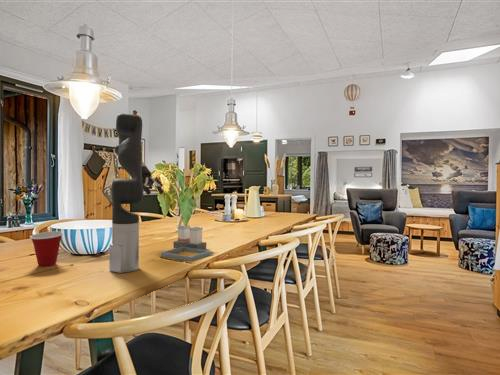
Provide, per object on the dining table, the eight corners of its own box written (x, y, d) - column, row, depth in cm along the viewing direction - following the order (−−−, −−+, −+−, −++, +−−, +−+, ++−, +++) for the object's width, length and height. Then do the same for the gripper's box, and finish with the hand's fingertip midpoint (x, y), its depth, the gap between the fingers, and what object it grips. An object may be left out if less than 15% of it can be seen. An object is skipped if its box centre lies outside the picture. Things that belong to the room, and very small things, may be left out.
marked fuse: (184, 248, 154) (184, 227, 154) (177, 247, 156) (177, 226, 156) (190, 247, 158) (190, 226, 158) (183, 246, 160) (183, 225, 160)
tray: (189, 263, 131) (190, 257, 131) (160, 258, 139) (160, 252, 139) (211, 256, 143) (211, 250, 143) (183, 252, 151) (183, 246, 151)
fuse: (196, 250, 151) (196, 228, 150) (189, 249, 153) (189, 227, 152) (202, 249, 154) (202, 227, 154) (195, 247, 156) (195, 226, 156)
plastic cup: (22, 266, 123) (22, 234, 123) (48, 260, 133) (48, 230, 133) (44, 269, 119) (44, 236, 119) (69, 262, 130) (69, 232, 129)
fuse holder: (196, 253, 149) (196, 244, 149) (173, 249, 156) (173, 241, 156) (206, 250, 155) (206, 242, 155) (183, 247, 162) (183, 239, 162)
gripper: (132, 164, 164) (149, 188, 158) (154, 166, 176) (170, 188, 171) (125, 175, 167) (141, 199, 161) (147, 176, 179) (162, 198, 173)
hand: (156, 193), depth 166 cm, fingers open, 8 cm apart
